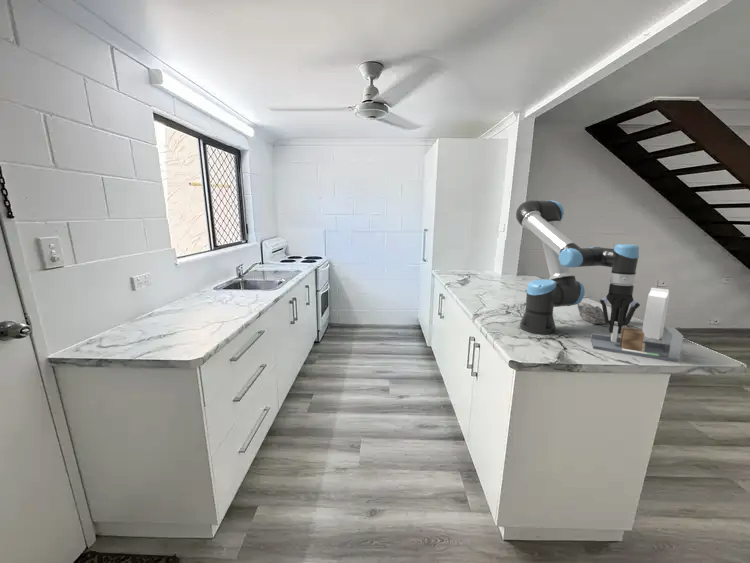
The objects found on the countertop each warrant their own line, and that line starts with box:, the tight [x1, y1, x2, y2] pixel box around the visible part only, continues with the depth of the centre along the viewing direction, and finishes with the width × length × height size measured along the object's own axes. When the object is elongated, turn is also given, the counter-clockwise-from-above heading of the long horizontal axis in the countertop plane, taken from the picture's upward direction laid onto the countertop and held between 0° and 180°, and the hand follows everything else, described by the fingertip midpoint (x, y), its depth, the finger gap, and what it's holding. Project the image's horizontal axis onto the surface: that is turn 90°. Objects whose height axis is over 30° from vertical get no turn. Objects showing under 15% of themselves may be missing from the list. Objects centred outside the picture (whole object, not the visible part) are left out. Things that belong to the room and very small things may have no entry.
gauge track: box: [590, 333, 680, 363], centre depth 126 cm, size 26×10×3 cm, turn 61°
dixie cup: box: [610, 303, 631, 325], centre depth 159 cm, size 8×8×11 cm
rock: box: [576, 301, 606, 325], centre depth 162 cm, size 16×8×10 cm, turn 175°
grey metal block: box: [660, 325, 684, 360], centre depth 120 cm, size 3×10×9 cm, turn 151°
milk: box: [641, 287, 670, 341], centre depth 138 cm, size 6×6×22 cm
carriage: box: [620, 326, 645, 352], centre depth 125 cm, size 7×7×7 cm
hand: (613, 340), depth 128 cm, fingers closed
